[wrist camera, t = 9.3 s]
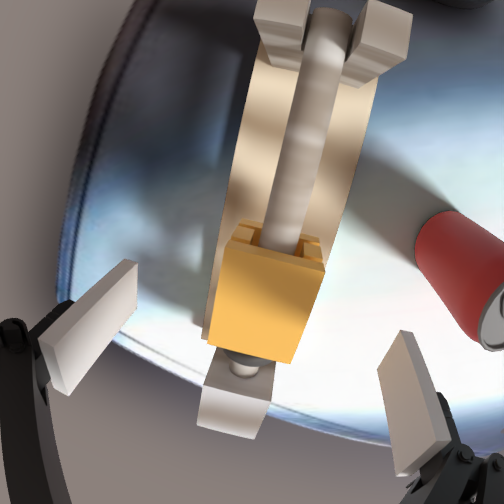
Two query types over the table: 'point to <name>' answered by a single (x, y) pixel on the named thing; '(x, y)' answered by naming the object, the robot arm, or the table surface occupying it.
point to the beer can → (465, 274)
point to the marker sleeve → (264, 295)
